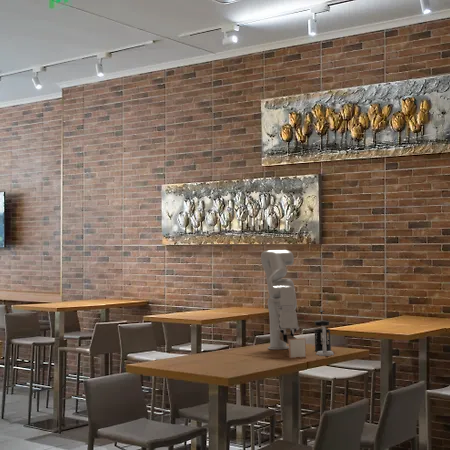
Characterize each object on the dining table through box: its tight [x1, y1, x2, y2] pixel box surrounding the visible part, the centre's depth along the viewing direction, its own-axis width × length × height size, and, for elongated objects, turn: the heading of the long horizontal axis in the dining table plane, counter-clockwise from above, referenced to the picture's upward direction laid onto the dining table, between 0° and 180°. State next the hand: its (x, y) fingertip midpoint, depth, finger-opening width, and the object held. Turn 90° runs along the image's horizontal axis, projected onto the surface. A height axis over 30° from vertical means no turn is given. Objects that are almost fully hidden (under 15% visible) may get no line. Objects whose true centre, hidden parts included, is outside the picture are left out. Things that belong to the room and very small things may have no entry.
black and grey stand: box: [315, 326, 335, 357], centre depth 411 cm, size 10×10×15 cm
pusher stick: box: [280, 332, 298, 345], centre depth 417 cm, size 23×6×4 cm, turn 14°
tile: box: [288, 337, 307, 359], centre depth 404 cm, size 2×9×10 cm, turn 104°
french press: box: [313, 310, 332, 353], centre depth 428 cm, size 12×9×23 cm
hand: (288, 341), depth 417 cm, fingers closed on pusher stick, 3 cm apart
